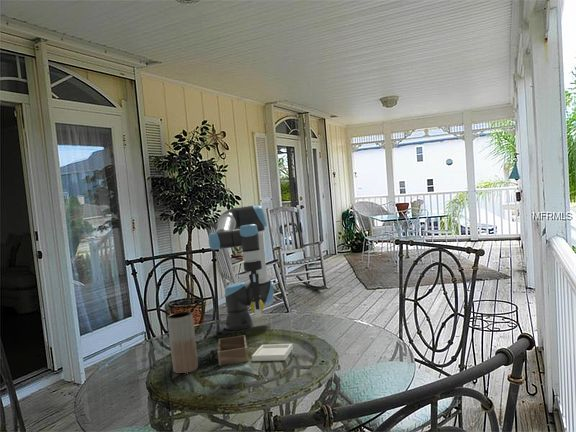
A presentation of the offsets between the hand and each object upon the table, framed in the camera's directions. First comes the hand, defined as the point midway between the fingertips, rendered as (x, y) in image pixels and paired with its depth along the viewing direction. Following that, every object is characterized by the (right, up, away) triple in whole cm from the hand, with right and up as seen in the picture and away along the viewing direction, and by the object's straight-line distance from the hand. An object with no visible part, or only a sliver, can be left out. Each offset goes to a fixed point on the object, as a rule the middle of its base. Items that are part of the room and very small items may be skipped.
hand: (258, 314), depth 186 cm
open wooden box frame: (-11, -19, +4) cm, 22 cm away
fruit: (0, 0, 0) cm, 1 cm away
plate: (+6, -17, 0) cm, 18 cm away
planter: (-29, -21, -7) cm, 37 cm away
